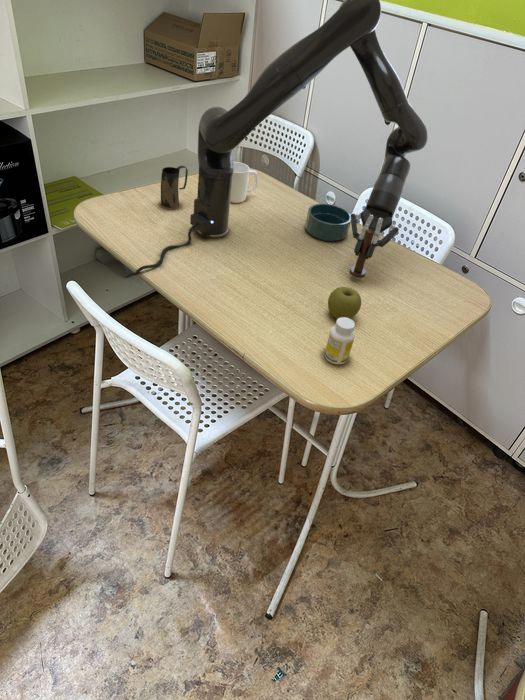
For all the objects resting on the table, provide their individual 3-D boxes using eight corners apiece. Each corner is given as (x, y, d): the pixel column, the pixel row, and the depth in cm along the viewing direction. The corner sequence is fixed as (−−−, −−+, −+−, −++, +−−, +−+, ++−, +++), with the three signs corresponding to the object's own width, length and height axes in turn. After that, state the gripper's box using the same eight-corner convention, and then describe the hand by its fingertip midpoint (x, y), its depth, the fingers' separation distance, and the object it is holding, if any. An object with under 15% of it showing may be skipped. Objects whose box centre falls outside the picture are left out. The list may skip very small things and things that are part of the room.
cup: (217, 192, 171) (219, 161, 164) (251, 190, 175) (254, 161, 168) (225, 203, 165) (228, 173, 159) (260, 201, 170) (264, 171, 163)
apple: (351, 329, 125) (358, 306, 120) (320, 317, 127) (326, 294, 122) (360, 313, 130) (367, 290, 126) (330, 302, 132) (336, 279, 127)
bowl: (328, 247, 153) (332, 229, 149) (295, 228, 160) (299, 210, 156) (355, 235, 161) (360, 217, 157) (323, 217, 167) (327, 200, 163)
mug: (163, 210, 157) (164, 172, 149) (158, 202, 160) (158, 164, 152) (188, 208, 160) (190, 170, 152) (182, 199, 163) (183, 162, 156)
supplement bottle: (345, 349, 119) (356, 316, 113) (349, 366, 115) (360, 332, 108) (322, 347, 118) (331, 314, 112) (325, 364, 114) (335, 329, 108)
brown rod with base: (358, 279, 139) (372, 236, 130) (346, 272, 141) (358, 229, 132) (368, 274, 141) (382, 232, 133) (355, 267, 143) (368, 224, 135)
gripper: (360, 182, 134) (336, 243, 133) (412, 197, 131) (388, 260, 130) (360, 194, 141) (337, 252, 141) (409, 209, 139) (386, 269, 138)
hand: (361, 256), depth 135 cm, fingers closed on brown rod with base, 2 cm apart
